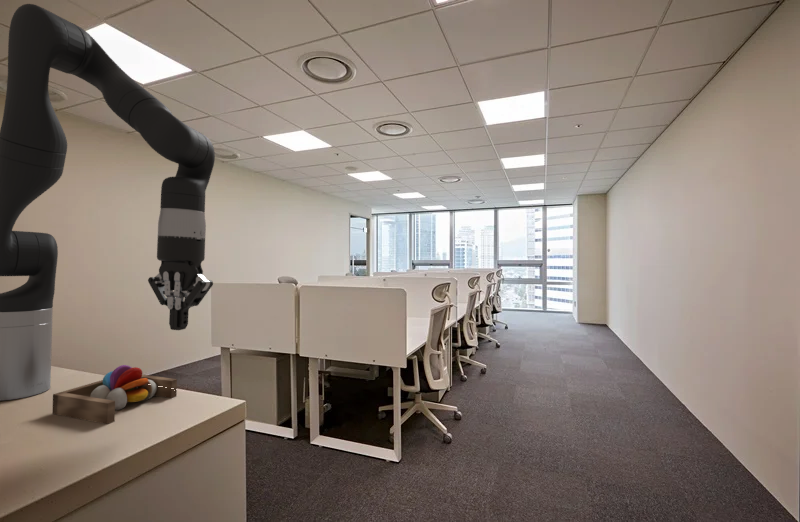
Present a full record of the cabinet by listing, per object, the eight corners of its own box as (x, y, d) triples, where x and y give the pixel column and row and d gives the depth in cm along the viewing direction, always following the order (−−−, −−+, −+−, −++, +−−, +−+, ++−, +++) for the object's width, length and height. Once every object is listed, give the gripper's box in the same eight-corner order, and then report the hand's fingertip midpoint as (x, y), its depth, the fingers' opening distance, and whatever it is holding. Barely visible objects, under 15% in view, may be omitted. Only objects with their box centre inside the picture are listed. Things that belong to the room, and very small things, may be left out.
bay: (52, 413, 65) (53, 394, 65) (127, 388, 78) (128, 372, 78) (107, 424, 61) (107, 403, 61) (176, 396, 74) (176, 379, 74)
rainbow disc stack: (120, 415, 65) (121, 374, 65) (82, 408, 68) (83, 369, 68) (163, 398, 73) (164, 362, 73) (127, 392, 76) (128, 358, 76)
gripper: (134, 233, 64) (130, 329, 64) (195, 234, 61) (191, 336, 61) (171, 236, 72) (167, 323, 72) (227, 237, 68) (223, 329, 68)
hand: (178, 329), depth 66 cm, fingers closed
